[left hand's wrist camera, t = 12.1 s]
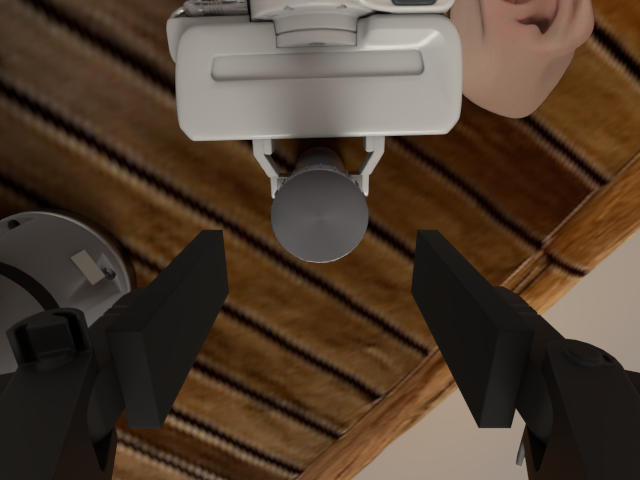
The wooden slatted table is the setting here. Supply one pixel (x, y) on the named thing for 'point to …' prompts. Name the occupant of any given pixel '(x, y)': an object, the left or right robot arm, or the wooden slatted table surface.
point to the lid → (319, 213)
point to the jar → (320, 158)
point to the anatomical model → (518, 49)
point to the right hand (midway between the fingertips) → (320, 196)
